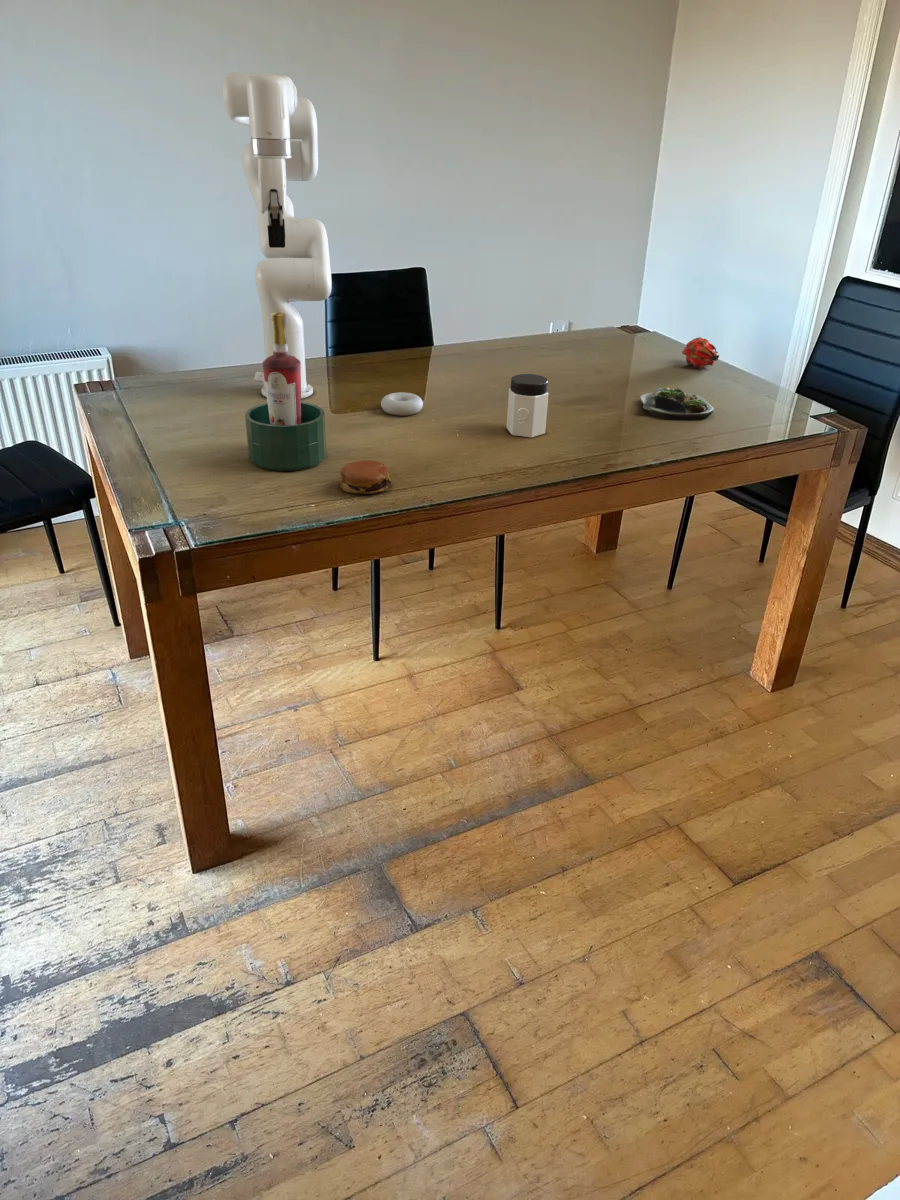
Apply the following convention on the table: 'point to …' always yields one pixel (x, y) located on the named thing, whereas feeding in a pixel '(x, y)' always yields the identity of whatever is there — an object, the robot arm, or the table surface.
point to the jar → (527, 405)
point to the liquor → (282, 378)
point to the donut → (401, 404)
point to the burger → (365, 477)
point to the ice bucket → (286, 439)
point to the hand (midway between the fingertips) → (277, 243)
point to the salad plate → (676, 405)
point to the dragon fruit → (700, 353)
